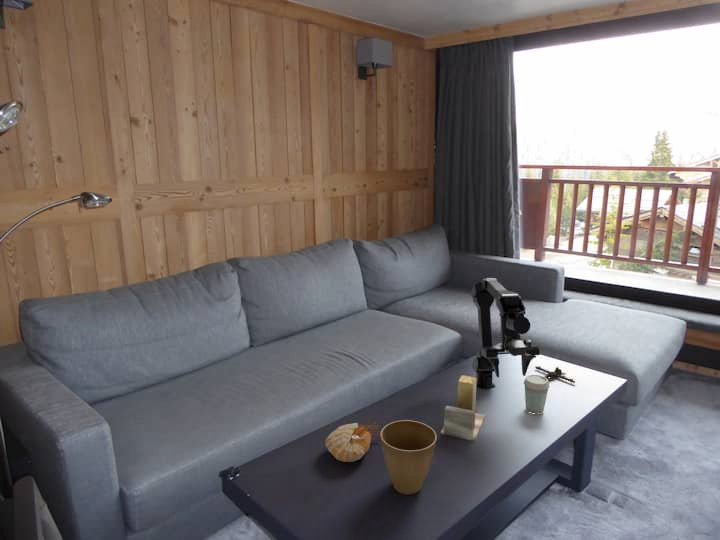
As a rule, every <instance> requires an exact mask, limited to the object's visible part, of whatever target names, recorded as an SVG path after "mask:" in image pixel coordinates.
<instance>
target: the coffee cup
mask: <svg viewBox="0 0 720 540" xmlns="http://www.w3.org/2000/svg"><path fill="white" fill-rule="evenodd" d="M523 384H524V400H525V410H527V411H528V412H531V413H535V414H538V413H542V412H543V413H544V410H545V406H546V401H547V396H548V390H549V389H550V381H548V378H545V377H544V376H542V375H540V374H530V375H526V377H525V379H524V380H523ZM527 411H526V412H527ZM528 412H527V413H528ZM543 413H542V414H543Z"/></svg>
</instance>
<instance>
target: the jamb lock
mask: <svg viewBox="0 0 720 540" xmlns="http://www.w3.org/2000/svg"><path fill="white" fill-rule="evenodd" d="M443 418H444V419H443V427H442V428H441V430H440V434H441V435H444V436H445V435H446V436H450V437H454V438H459V439H462V440H465V441H466V440H467V441H471V442H475V441H476V439H477V436H478V435H479V432H480V431H481V427H482V425H483V423H484V421H485V419H484V418H486V414H482V413H476V412H475V413H474V411H471V410H466V409H461V408H457V407H456V406H450V405H446V406H445V408H444V416H443Z"/></svg>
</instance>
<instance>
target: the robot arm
mask: <svg viewBox="0 0 720 540" xmlns="http://www.w3.org/2000/svg"><path fill="white" fill-rule="evenodd" d="M470 291H471V292H470V295H471V298H472V302H473V304H474V305H475V306H476V308H477V318H478V319H477V320H478V321H477V322H478V335H479V337H478V338H479V340H478V341H479V347H478V348H477V350H476V351H475V358H474V359H473V361H472V362H471V368H472V370H473V371H474V372H475V373H476V374H475V375H476V376H475V377H476V378H477V384H476V385H477V386H476V387H478V388H479V389H480V388H481V390H484V388H485V389H488V388H489V387H490V388H494V386H495V387H496V384H494V383H493V378H494V377H493V373H494V374H495V376H496V378H499V377H500V369H499V365H500V359H499V357H498V356H499V355H511V356H512V357H517V356H521V372H522V376H524V377H525V376H527V375H526V374H527V372H528V369H529V367H530V363H531V362H532V361H533V360H534V359H536V358H537V356H540V355H541V350H540V347H539V346H537V345H534V344H532V341H531V340H530V339H523V340H522V339H521V335H525V334H527V333H528V332H529V331H530V329H531V322H530V320H529V319H528V318H527V317H525V315H526V307H525V304H524V302H523V300H522V297H521V296H520V295H519V294H518V293H517V292H515V291H510V290H507V289H506V288H505V287H504V286H503V285H502V284H501V283H500V282H498V279H497V278H495V277H485V278H483V279H481V281H479V282H478V283H475V284H474V285H473V287H472V288H471V290H470ZM494 302H495V306H496V307H497V309H498V311H499V314H498V316H499V317H500V332H499V336H500V341H501V342H500V343H501V344H500V345H499V347H500V348H497V347H494V346H493V335H492V334H493V333H492V320H491V319H492V318H491V307H492V305H493V304H494Z"/></svg>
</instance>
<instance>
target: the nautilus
mask: <svg viewBox="0 0 720 540" xmlns="http://www.w3.org/2000/svg"><path fill="white" fill-rule="evenodd" d="M370 422H371V420H370V421H368V422H367V423H363V424H360V425H359V424H358V422H353V423H347V424H343V425H341V426H338V427H337V428H336V429H335V430H333V431H332V432H331V433H330V434H329V435H328V436H327V437H326V439H325V446H326V449H327V450H328V452H330V454H331V455H332V456H333V457H334V458H335V459H336V460H337V461H340V462H344V463H345V462H347V463H351V462H352V463H353V462H356V461H358V460H361V459H362V458H363V456H365V454H366V453H368V451H369V449H370V446H371V443H372V444H375V442H373V441H374V439H376V438H377V437H373V436H374V435H377V436H381V432H380V431H382V429H381V428H379V427H378V426H376V425H375V424H376V423H378V422H377V421H376V422H373V424H370V425H369V424H368V423H370ZM367 424H368V425H367ZM371 430H374V432H372V431H371ZM377 430H380V431H377ZM378 444H380V442H378Z"/></svg>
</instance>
